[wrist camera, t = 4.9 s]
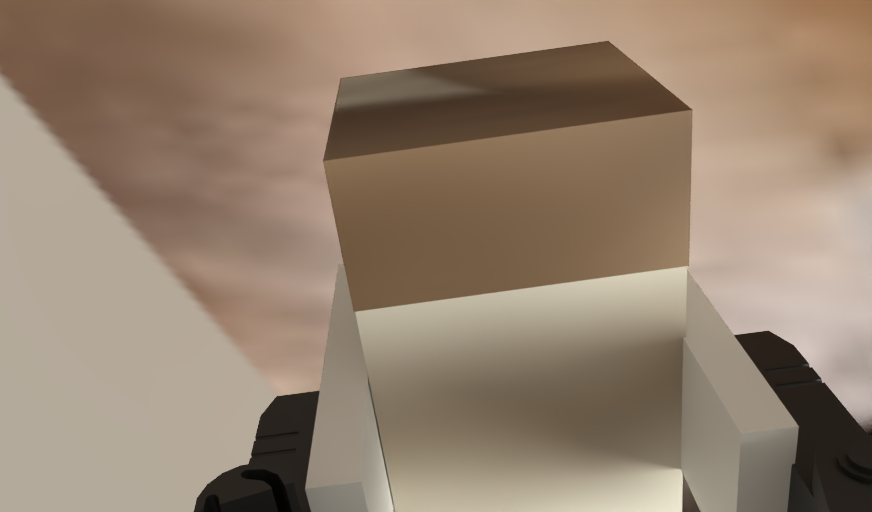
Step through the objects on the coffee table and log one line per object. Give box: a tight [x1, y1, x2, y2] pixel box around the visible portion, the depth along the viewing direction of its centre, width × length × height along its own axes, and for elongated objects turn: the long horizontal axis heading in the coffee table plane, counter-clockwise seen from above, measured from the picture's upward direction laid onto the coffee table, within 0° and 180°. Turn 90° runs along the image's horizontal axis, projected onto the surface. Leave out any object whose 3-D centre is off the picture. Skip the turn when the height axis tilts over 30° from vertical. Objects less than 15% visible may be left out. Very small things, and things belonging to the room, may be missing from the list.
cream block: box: [323, 41, 692, 512], centre depth 15 cm, size 10×5×4 cm, turn 7°
